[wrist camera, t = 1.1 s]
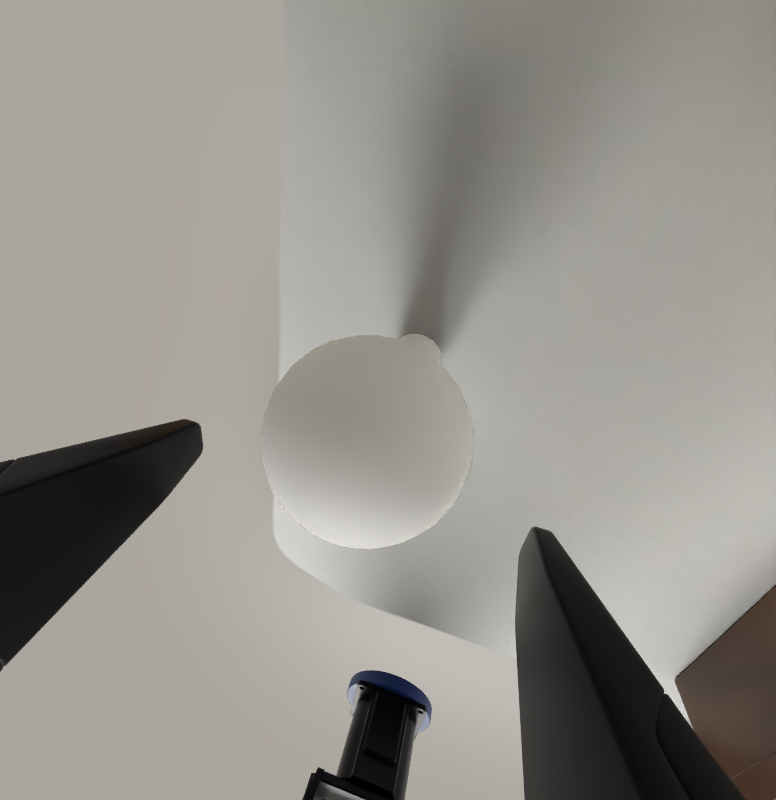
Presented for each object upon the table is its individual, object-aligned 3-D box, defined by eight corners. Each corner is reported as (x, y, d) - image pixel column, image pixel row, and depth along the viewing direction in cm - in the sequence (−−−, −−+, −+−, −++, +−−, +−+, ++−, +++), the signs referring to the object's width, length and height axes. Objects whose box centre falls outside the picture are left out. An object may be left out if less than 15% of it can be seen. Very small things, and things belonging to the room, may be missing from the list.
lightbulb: (360, 401, 20) (234, 569, 10) (357, 286, 17) (181, 368, 7) (474, 416, 18) (450, 628, 9) (491, 293, 16) (484, 407, 6)
